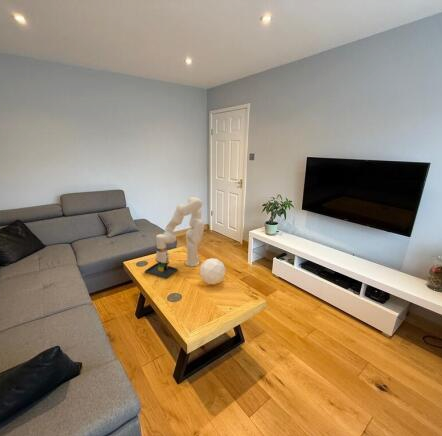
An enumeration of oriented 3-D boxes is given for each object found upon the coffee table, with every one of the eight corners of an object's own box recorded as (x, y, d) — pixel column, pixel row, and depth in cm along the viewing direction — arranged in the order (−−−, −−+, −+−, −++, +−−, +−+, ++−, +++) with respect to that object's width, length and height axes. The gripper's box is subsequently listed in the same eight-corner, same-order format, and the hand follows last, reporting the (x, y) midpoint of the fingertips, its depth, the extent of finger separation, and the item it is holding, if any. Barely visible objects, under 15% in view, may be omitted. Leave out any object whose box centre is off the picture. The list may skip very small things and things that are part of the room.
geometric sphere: (206, 291, 179) (190, 272, 175) (218, 273, 192) (203, 255, 188) (222, 289, 165) (205, 269, 161) (234, 269, 179) (219, 250, 175)
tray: (157, 265, 206) (157, 262, 205) (177, 270, 197) (177, 268, 196) (144, 273, 192) (144, 270, 192) (166, 279, 183) (166, 277, 183)
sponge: (163, 267, 201) (163, 261, 200) (167, 268, 199) (167, 262, 198) (158, 270, 195) (157, 265, 194) (162, 271, 193) (162, 266, 192)
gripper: (172, 249, 191) (173, 269, 197) (156, 245, 199) (157, 265, 204) (167, 252, 185) (168, 273, 190) (150, 248, 192) (152, 268, 198)
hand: (162, 268), depth 197 cm, fingers closed on sponge, 4 cm apart
